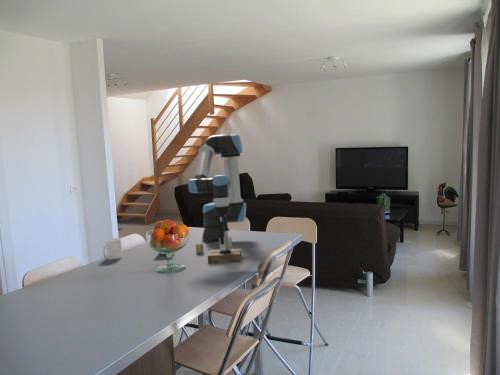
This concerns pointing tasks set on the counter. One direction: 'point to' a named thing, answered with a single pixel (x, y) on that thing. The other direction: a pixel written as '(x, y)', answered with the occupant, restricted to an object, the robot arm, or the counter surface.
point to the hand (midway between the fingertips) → (224, 246)
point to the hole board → (225, 256)
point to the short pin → (199, 248)
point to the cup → (112, 248)
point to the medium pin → (230, 242)
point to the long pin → (226, 246)
